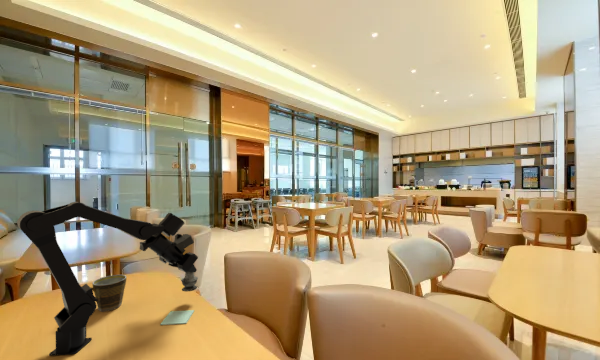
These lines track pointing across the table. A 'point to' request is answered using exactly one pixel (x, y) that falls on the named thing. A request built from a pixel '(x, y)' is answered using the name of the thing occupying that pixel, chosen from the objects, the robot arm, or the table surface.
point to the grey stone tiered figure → (189, 282)
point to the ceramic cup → (109, 291)
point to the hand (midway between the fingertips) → (193, 270)
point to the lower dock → (177, 317)
